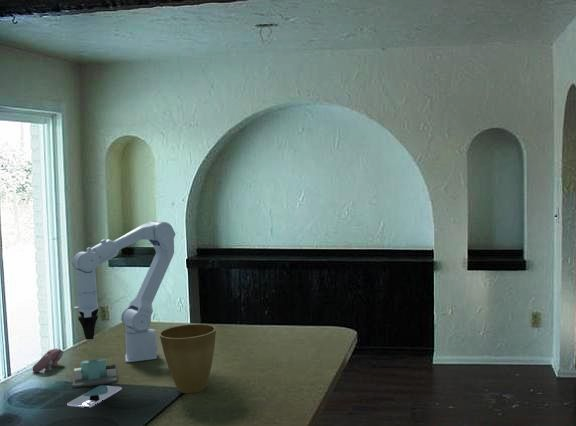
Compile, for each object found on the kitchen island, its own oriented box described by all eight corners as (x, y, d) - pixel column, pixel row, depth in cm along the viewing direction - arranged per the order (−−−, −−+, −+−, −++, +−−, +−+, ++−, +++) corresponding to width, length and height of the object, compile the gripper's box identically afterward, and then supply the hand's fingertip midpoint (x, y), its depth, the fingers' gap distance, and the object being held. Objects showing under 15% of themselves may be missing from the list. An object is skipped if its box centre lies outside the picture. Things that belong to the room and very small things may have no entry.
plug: (115, 372, 194) (114, 356, 193) (116, 376, 190) (115, 360, 190) (74, 377, 191) (73, 361, 190) (74, 381, 187) (73, 365, 186)
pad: (116, 369, 198) (116, 368, 198) (117, 382, 186) (116, 380, 186) (74, 375, 194) (74, 373, 194) (72, 387, 183) (72, 385, 183)
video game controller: (43, 378, 198) (51, 358, 197) (30, 371, 199) (38, 351, 198) (60, 368, 208) (68, 348, 207) (48, 361, 208) (55, 342, 207)
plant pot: (211, 376, 187) (208, 321, 186) (225, 393, 173) (221, 332, 172) (158, 385, 182) (155, 327, 181) (168, 402, 168) (164, 340, 167)
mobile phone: (123, 386, 181) (89, 405, 167) (123, 389, 181) (90, 409, 167) (100, 384, 183) (64, 403, 169) (100, 387, 183) (65, 406, 169)
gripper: (74, 288, 205) (77, 331, 206) (71, 297, 191) (75, 343, 192) (97, 286, 207) (100, 329, 208) (97, 294, 193) (100, 340, 194)
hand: (89, 336), depth 200 cm, fingers open, 7 cm apart
